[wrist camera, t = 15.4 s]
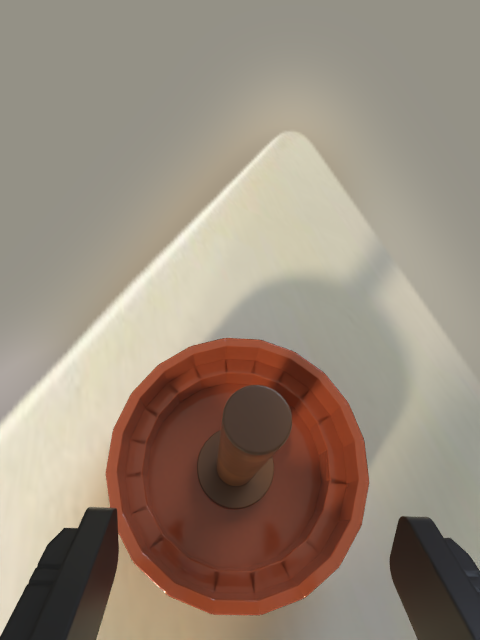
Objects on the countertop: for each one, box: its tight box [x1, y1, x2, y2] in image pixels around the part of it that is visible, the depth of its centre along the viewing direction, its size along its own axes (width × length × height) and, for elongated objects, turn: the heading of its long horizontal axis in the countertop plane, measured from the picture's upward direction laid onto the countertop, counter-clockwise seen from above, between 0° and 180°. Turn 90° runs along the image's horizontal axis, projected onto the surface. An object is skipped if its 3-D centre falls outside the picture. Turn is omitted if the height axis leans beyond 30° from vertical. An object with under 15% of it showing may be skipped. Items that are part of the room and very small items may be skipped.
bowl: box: [106, 338, 369, 615], centre depth 24 cm, size 14×14×5 cm
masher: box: [197, 385, 292, 509], centre depth 19 cm, size 5×5×14 cm
